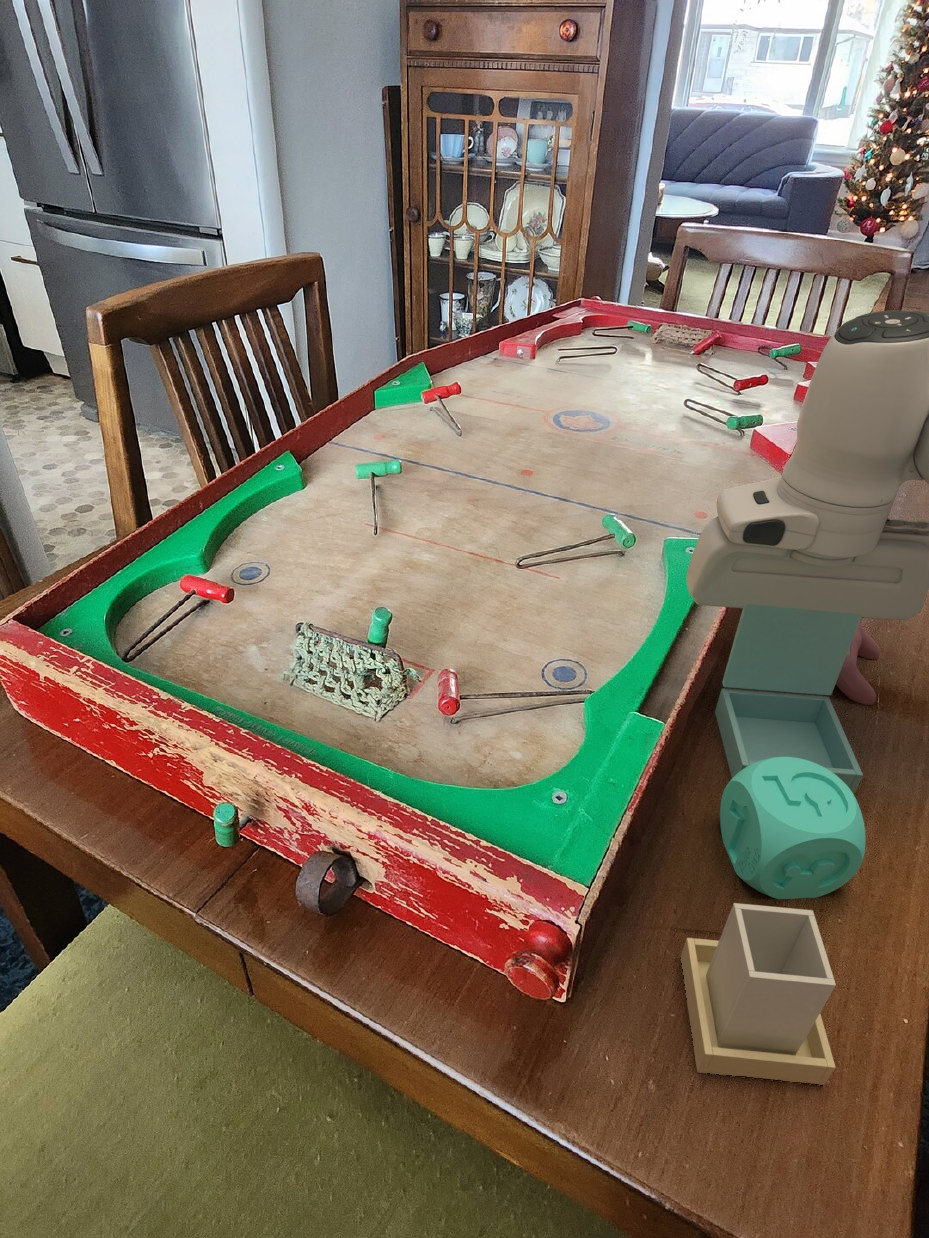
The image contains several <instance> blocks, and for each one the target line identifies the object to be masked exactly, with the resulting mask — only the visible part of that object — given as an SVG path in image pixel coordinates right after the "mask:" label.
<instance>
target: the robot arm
mask: <svg viewBox="0 0 929 1238" xmlns="http://www.w3.org/2000/svg"><path fill="white" fill-rule="evenodd" d="M923 480H924V481H925V483H927V484H928V485H929V313H927V312H923V311H918V310H912V311H911V310H901V309H890V310H879V311H873V312H867V313H864V314H861V315H858V316H856V317H854V318H852V319H849V320H848V321H846V322H844V323H843V324H842V325H840V326H839V327H838V328H837V329H836V330H835V331H834V332H833V334H832V335H831V337H830V338H829V340H828V341H827V343H826V345H825V346H824V348H823V350H822V352H821V354H820V356H819V358H818V361H817V364H816V366H815V368H814V371H813V373H812V376H811V378H810V381H809V384H808V387H807V389H806V393H805V396H804V398H803V402H802V405H801V408H800V412H799V415H798V418H797V422H796V442H795V446H794V450H793V452H792V453H791V456H790V457H789V459H788V460H787V461H786V463H785V465H784V467H783V470H782V473H781V475H778V476H774V477H771V478H767V479H765V480H760V481H756V482H752V483H747V484H742V485H737V486H732V487H728V488H724V489H722V490H721V491H720V492H719V494H718V496H717V499H716V512H717V516H715V517H714V518H712V519H711V520H710V521H708V522H707V523H706V524H705V526H704V527H703V529H702V530H701V532H700V534H699V536H698V539H697V541H696V544H695V547H694V549H693V552H692V554H691V558H690V561H689V564H688V568H687V574H686V587H687V590H688V593H689V595H690V597H691V599H692V600H693V601H694V603H695V604H697V605H698V606H703V607H704V606H706V607H707V606H708V607H720V608H734V609H743V608H745V607H746V605H747V604H751V605H762V606H773V607H784V608H796V609H807V610H818V611H829V612H840V613H851V614H862V616H861V618H863V619H864V618H865V619H875V620H877V619H878V620H889V621H890V620H892V621H903V622H904V621H909V620H911V619H912V618H914V617H916V616H917V615H918V614H919V613H921V611H922V609H923V607H924V604H925V602H926V599H927V596H928V593H929V520H921V519H919V520H908V519H902V518H896V517H895V518H894V517H889V515H890V513H891V510H892V507H893V505H894V502H895V500H896V498H897V495H898V493H899V489H900V488H901V486H902V485H903V484H904V483H906V482H907V481H923Z"/></svg>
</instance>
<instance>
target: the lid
mask: <svg viewBox="0 0 929 1238" xmlns="http://www.w3.org/2000/svg"><path fill="white" fill-rule="evenodd" d="M861 616H862V614H851V613H840V612H829V611H818V610H807V609H796V608H784V607H773V606H762V605H751V604H747V605H746V607H745V608H742V610H741V613H740V618H739V620H738V625H737V628H736V631H735V635H734V639H733V642H732V646H731V649H730V653H729V657H728V659H727V664H726V667H725V670H724V671H725V672H724V674H723V678H722V681H721V684H722V688H723V687H724V688H730V689H743V690H755V691H768V692H780V693H793V694H806V695H818V696H832V694H833V691H834V689H835V686H836V681H837V679H838V676H839V674H840V671H841V668H842V666H843V663H844V661H845V658H846V655H847V653H848V650H849V648H850V645H851V642H852V640H853V637H854V635H855V632H856V629H857V627H858V624H859V623H861V622H860V621H861V618H862V617H861Z"/></svg>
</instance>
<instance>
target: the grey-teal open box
mask: <svg viewBox="0 0 929 1238" xmlns="http://www.w3.org/2000/svg"><path fill="white" fill-rule="evenodd" d="M714 714H715V718H716V721H717V725H718V729H719V733H720V737H721V741H722V745H723V749H724V753H725V757H726V761H727V764H728V769H729V773H730V777H731V779H732V778H733V777H734V776H735V775H736V774H737V773H739V772H740V771H741V770H743V769H744V768H746V767H747V766H749V765H751V764H753V763H756V762H758V761H761V760H764V759H768V758H774V757H794V758H800V759H804V760H808V761H811V762H814V763H816V764H818V765H820V766H822V767H824V768H826V769H828V770H829V771H831V772H832V773H834V774H835V775H836V776H838V777H839V778H840V779H841V780H842V781H843V782H844V783H845V784H846V785H847V786H848V787H849V789H850V790H851V791H852V793H853V794H854V795H855V793H856V791H857V789H858V787H859V784H860V783H861V781H862V778H863V776H864V774H863V772H862V770H861V767H860V765H859V762H858V761H857V760H858V759H857V758H856V756H855V753H854V751H853V749H852V747H851V744H850V742H849V739H848V738H847V734H846V733H845V730H844V728H843V726H842V723H841V722H840V719H839V716H838V714H837V712H836V709H835V708H834V705H833V703H832V701H831V699H830V697H829V696H826V695H814V694H801V693H789V692H776V691H763V690H751V689H738V688H725V687H724V688H723V687H722V688H721V689H720V694H719V696H718V699H717V702H716V707H715V711H714Z"/></svg>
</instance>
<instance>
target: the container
mask: <svg viewBox="0 0 929 1238" xmlns="http://www.w3.org/2000/svg"><path fill="white" fill-rule="evenodd" d="M718 941H719V943H718V945H717V948H716V950H715V953H714V955H713V958H712V961H711V963H710V966H709V968H708V971H707V973H706V978H707V984H708V990H709V996H710V1001H711V1007H712V1013H713V1019H714V1025H715V1031H716V1036H717V1042H718V1047H723V1048H733V1049H743V1050H752V1051H762V1052H771V1053H781V1054H791V1055H796V1054H797V1052H798V1050H799V1049H800V1047H801V1045H802V1043H803V1042H804V1040H805V1038H806V1037H807V1035H808V1033H809V1031H810V1030H811V1028H812V1026H813V1024H814V1023H815V1021H816V1019H817V1017H818V1016H819V1014H821V1013H822V1011H823V1009H824V1007H825V1006H826V1004H827V1002H828V1000H829V998H830V996H831V995H832V993H833V991H834V990H835V988H836V986H837V984H836V981H835V977H834V974H833V971H832V968H831V964H830V960H829V957H828V955H827V952H826V948H825V945H824V942H823V939H822V935H821V932H820V929H819V926H818V923H817V920H816V916H815V913H814V910H812V909H803V908H792V907H782V906H781V907H780V906H769V905H759V904H750V903H737V902H733V904H732V906H731V909H730V912H729V915H728V917H727V920H726V922H725V925H724V927H723V930H722V932H721V935H720V938H719V940H718Z"/></svg>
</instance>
